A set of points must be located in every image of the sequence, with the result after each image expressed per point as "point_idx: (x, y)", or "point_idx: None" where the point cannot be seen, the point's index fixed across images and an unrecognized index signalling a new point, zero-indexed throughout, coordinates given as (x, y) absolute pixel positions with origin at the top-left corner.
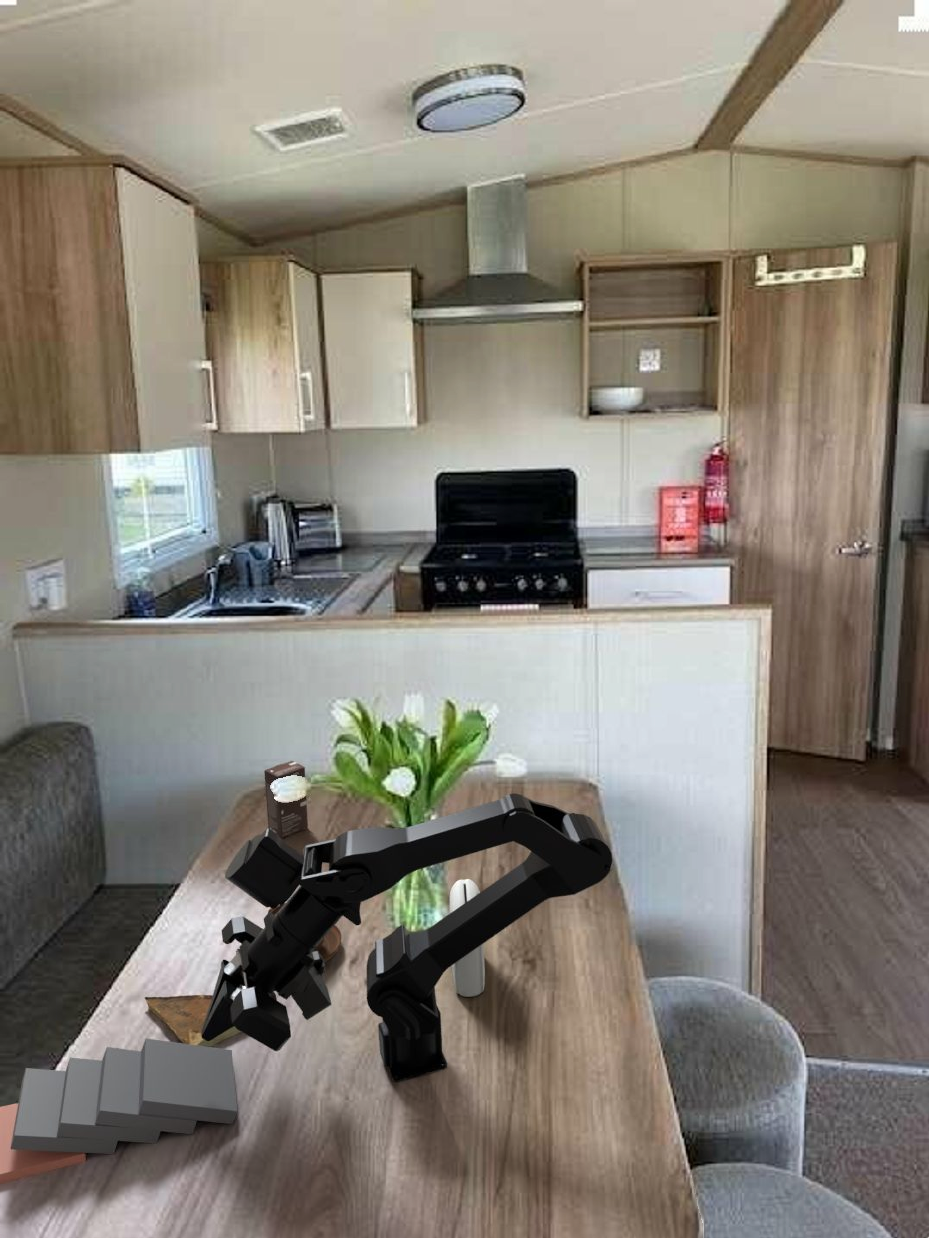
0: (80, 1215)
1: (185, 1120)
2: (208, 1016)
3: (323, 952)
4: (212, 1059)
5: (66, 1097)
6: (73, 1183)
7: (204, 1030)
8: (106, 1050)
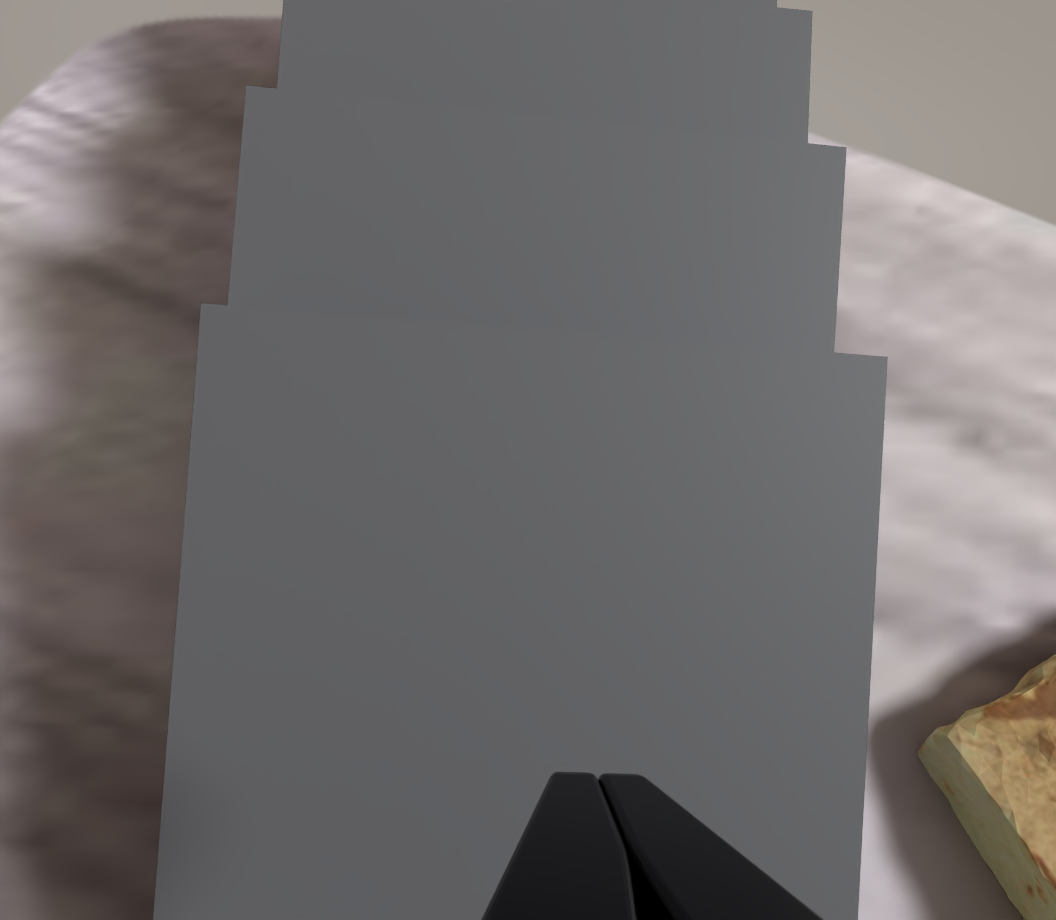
0: (6, 199)
1: None
2: (674, 913)
3: None
4: None
5: None
6: (207, 182)
7: (535, 816)
8: (810, 144)
